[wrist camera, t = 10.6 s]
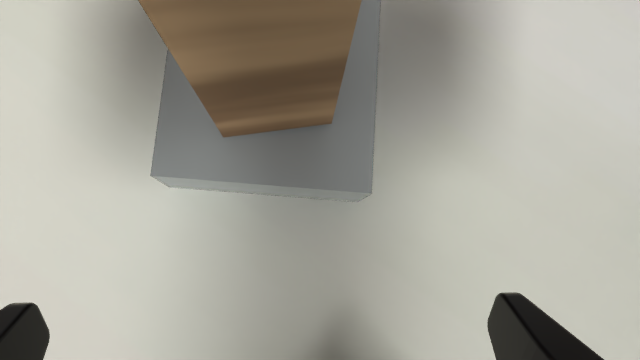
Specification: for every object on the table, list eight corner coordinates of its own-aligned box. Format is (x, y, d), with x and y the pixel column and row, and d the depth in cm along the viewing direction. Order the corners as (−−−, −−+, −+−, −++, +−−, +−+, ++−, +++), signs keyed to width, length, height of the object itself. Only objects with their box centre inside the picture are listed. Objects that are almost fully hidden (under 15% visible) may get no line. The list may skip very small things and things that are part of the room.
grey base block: (356, 203, 21) (371, 193, 18) (171, 188, 21) (150, 175, 17) (365, 35, 23) (380, -3, 19) (193, 16, 22) (178, -27, 19)
